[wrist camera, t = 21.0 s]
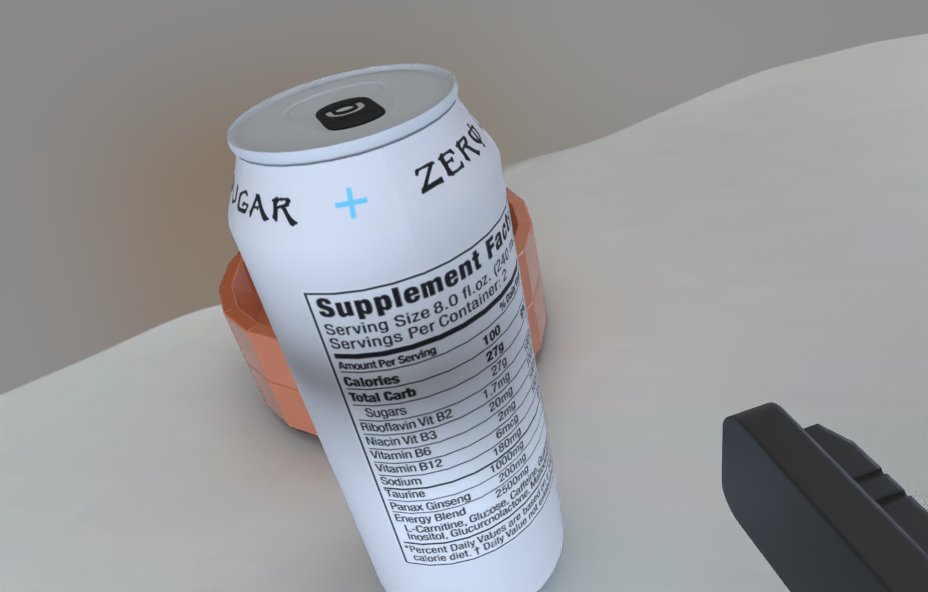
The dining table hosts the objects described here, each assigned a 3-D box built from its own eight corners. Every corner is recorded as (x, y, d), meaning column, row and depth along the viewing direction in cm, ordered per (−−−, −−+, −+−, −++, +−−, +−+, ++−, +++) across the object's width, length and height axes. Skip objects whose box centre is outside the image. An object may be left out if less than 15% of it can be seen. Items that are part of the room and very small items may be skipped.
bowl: (522, 247, 38) (506, 152, 35) (576, 413, 27) (559, 296, 24) (285, 297, 38) (249, 208, 35) (242, 481, 27) (184, 374, 24)
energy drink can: (512, 455, 26) (422, 39, 18) (605, 581, 21) (541, 90, 13) (359, 529, 24) (183, 113, 16) (421, 683, 20) (215, 202, 11)
